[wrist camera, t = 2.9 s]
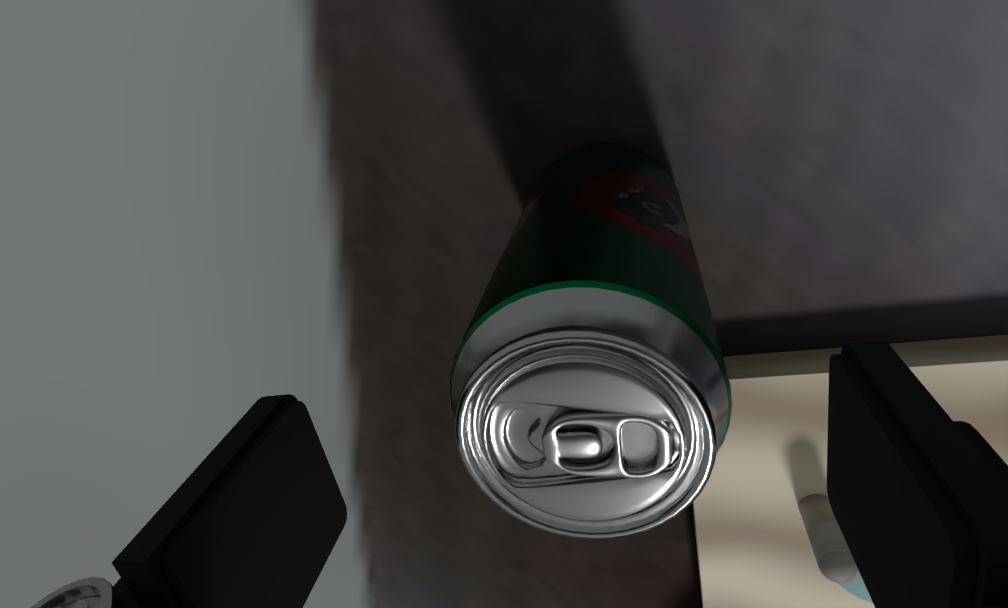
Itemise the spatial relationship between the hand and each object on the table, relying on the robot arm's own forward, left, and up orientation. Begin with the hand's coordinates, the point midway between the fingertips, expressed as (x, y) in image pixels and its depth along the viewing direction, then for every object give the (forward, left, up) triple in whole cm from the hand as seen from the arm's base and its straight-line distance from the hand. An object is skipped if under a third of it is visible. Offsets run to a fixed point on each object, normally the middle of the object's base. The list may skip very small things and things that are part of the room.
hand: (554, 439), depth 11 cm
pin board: (+14, +11, -11) cm, 21 cm away
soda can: (0, +1, -12) cm, 12 cm away
